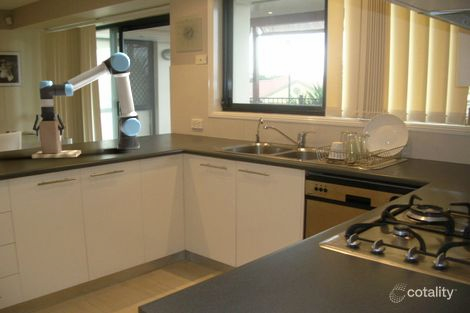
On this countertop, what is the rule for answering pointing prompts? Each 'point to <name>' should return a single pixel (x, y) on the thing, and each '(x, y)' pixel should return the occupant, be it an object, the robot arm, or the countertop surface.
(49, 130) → the block
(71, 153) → the board
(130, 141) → the robot arm
